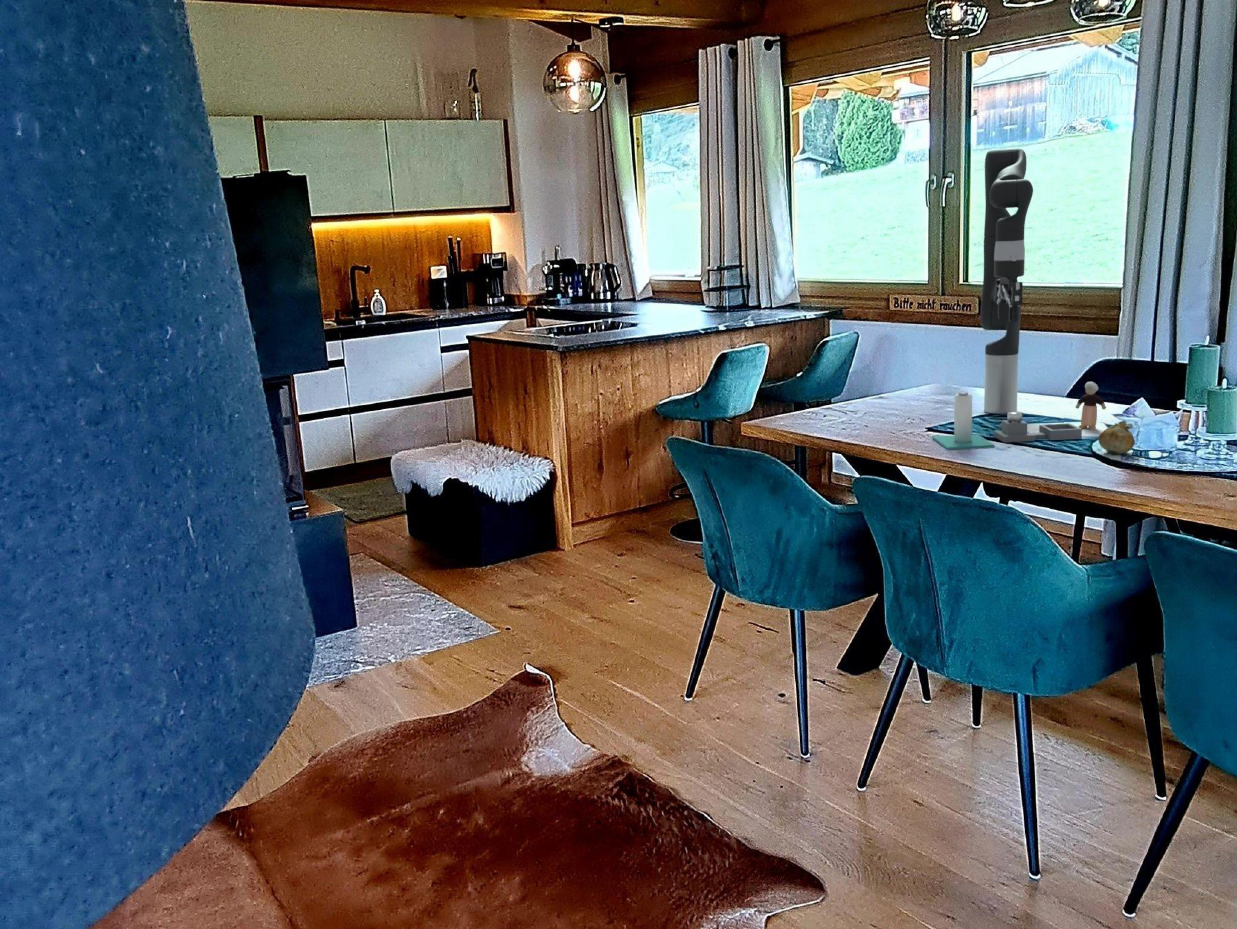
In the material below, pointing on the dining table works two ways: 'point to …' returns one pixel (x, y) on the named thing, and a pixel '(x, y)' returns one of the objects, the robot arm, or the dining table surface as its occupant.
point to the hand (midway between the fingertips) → (1007, 320)
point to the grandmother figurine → (1090, 406)
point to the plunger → (1014, 417)
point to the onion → (1117, 438)
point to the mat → (975, 443)
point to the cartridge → (963, 417)
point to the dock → (1050, 431)
